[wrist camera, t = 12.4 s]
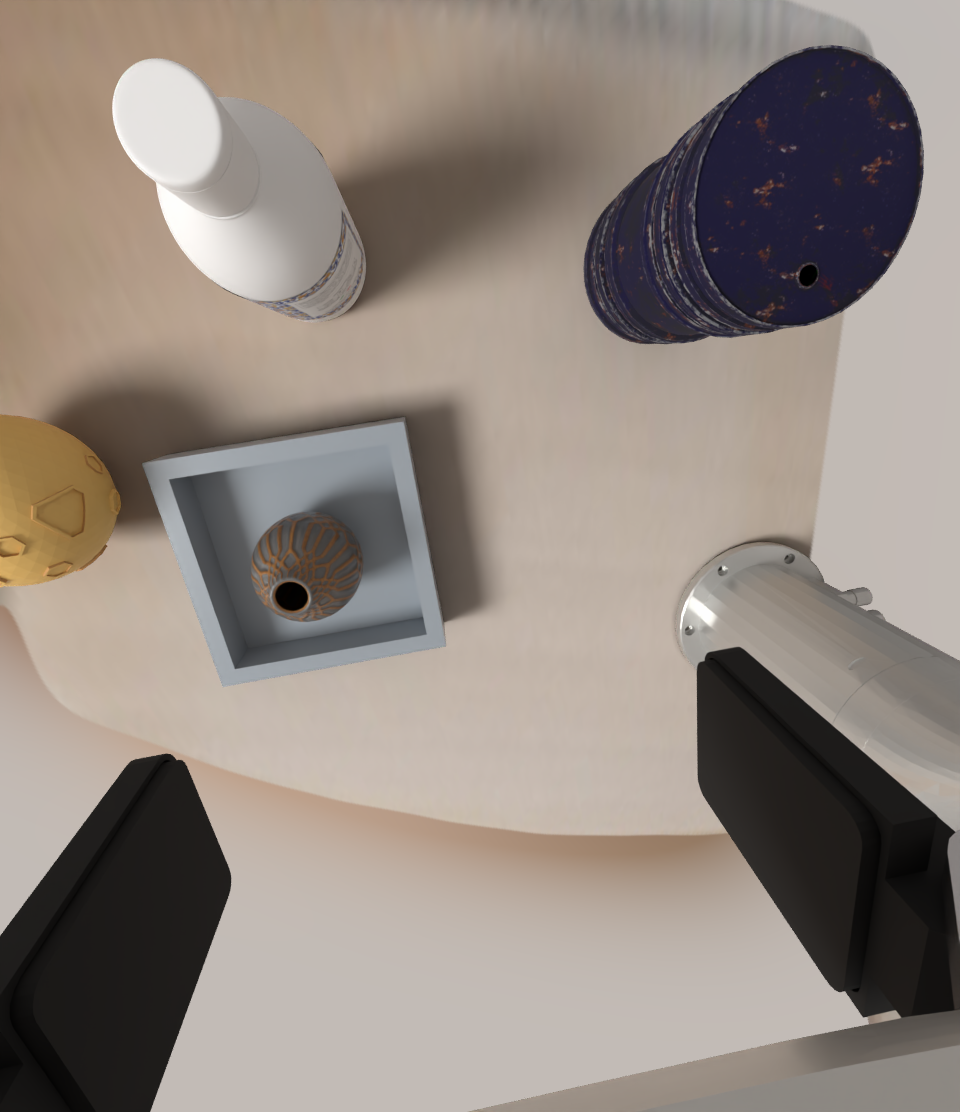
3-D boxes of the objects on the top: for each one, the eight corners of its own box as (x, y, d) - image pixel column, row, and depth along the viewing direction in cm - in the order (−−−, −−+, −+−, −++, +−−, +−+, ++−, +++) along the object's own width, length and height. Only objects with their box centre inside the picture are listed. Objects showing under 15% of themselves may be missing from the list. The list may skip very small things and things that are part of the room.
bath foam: (231, 219, 32) (-37, 5, 13) (340, 181, 32) (227, -89, 13) (282, 338, 34) (116, 299, 16) (383, 302, 34) (340, 220, 16)
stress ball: (-19, 440, 35) (-101, 581, 32) (-85, 349, 27) (-208, 526, 23) (149, 489, 39) (94, 621, 35) (136, 422, 31) (62, 585, 27)
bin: (405, 416, 37) (403, 421, 33) (443, 623, 42) (446, 646, 39) (169, 454, 36) (141, 463, 32) (239, 659, 41) (222, 686, 38)
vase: (387, 558, 39) (378, 608, 31) (313, 610, 40) (285, 672, 32) (325, 482, 37) (297, 514, 29) (247, 538, 38) (199, 586, 29)
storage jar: (572, 194, 33) (681, 67, 19) (722, 163, 34) (937, 15, 20) (592, 360, 37) (698, 353, 23) (728, 330, 37) (916, 305, 23)
